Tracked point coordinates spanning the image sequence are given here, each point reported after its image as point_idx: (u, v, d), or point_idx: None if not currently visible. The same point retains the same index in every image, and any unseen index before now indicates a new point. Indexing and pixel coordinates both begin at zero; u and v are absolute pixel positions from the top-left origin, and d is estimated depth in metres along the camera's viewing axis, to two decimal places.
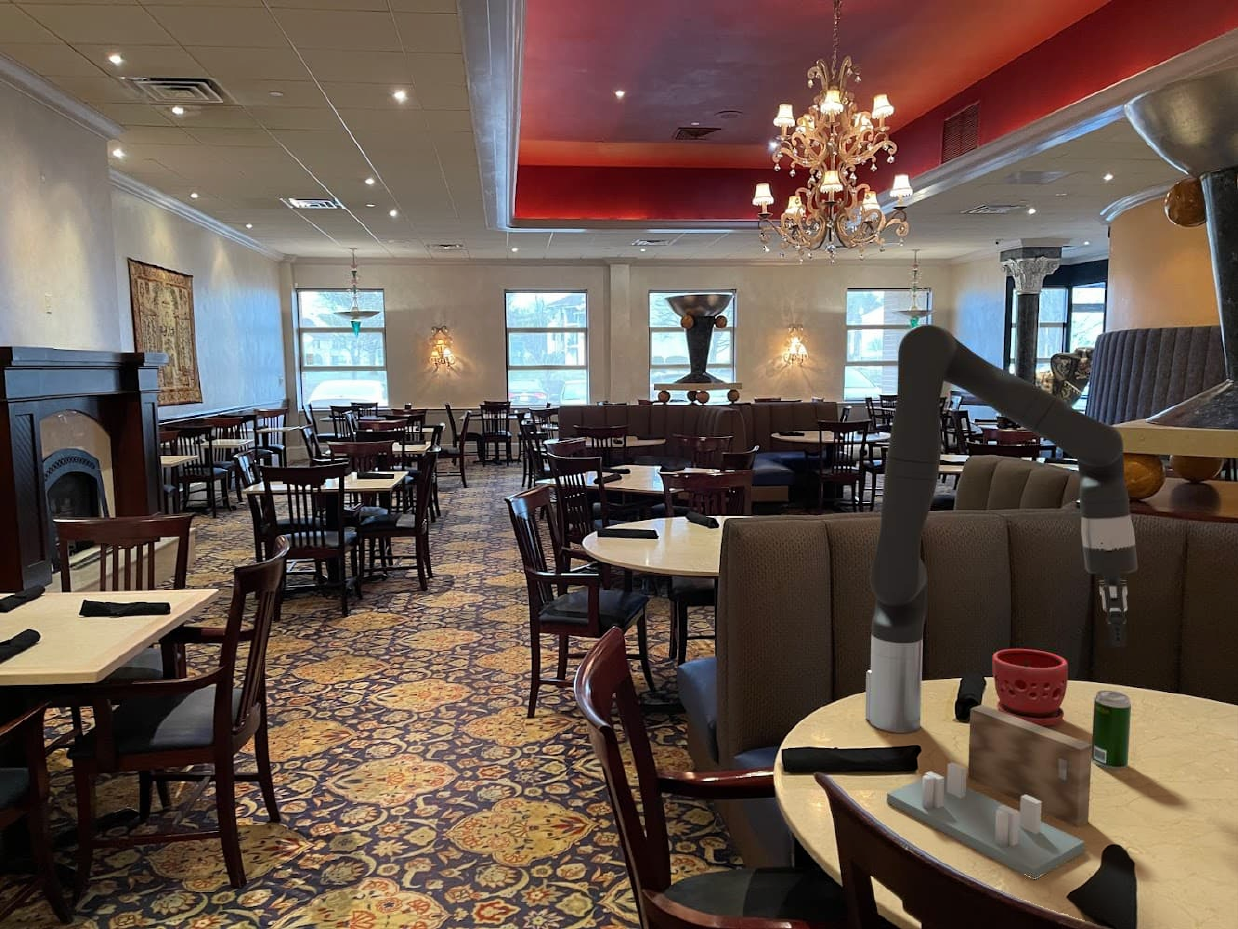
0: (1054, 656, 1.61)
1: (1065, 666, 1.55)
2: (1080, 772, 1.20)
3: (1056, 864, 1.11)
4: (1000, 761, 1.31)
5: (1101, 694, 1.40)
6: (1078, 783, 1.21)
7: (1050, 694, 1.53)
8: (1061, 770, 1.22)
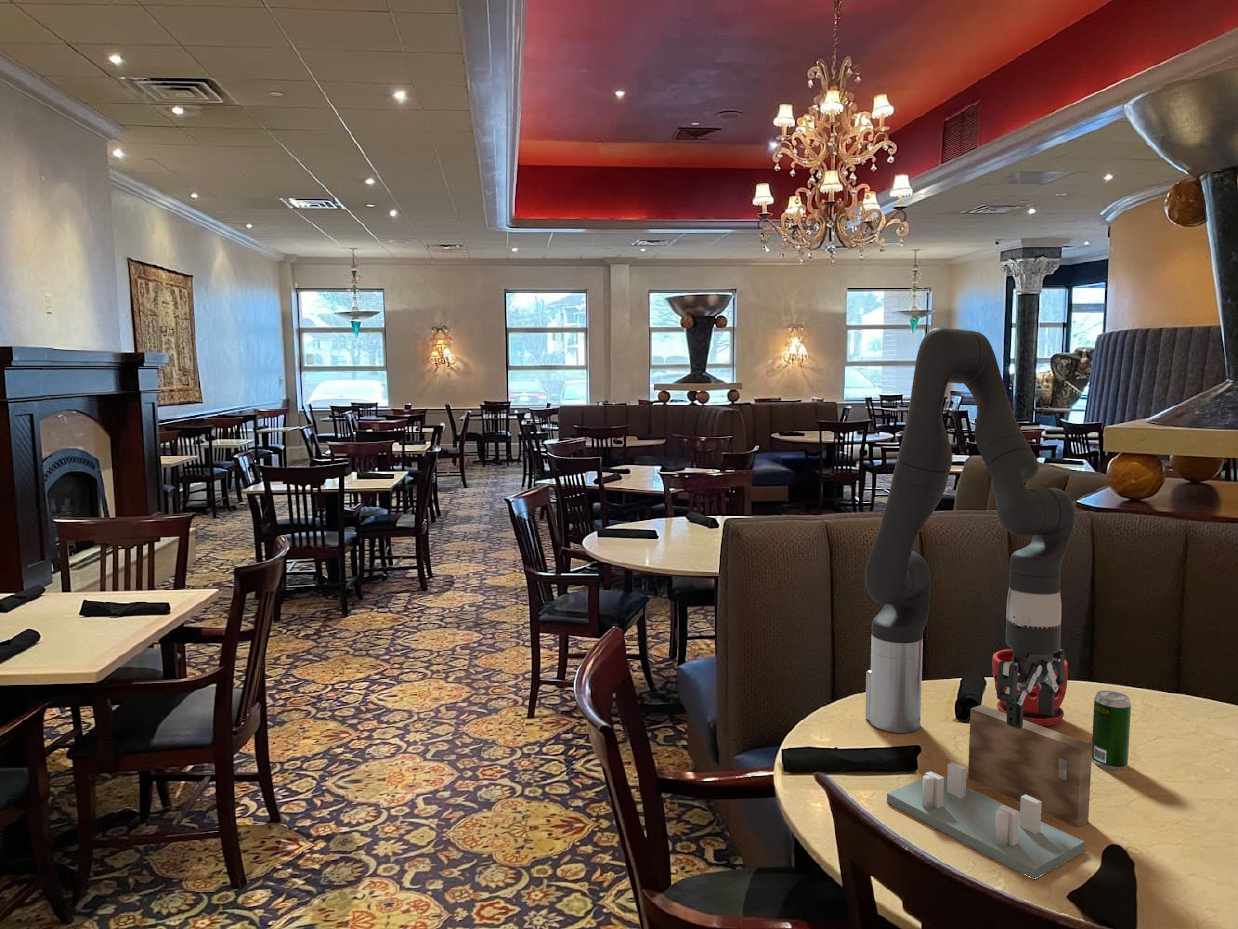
0: None
1: (1065, 666, 1.55)
2: (1080, 772, 1.20)
3: (1056, 864, 1.11)
4: (1000, 761, 1.31)
5: (1101, 694, 1.40)
6: (1078, 783, 1.21)
7: None
8: (1061, 770, 1.22)
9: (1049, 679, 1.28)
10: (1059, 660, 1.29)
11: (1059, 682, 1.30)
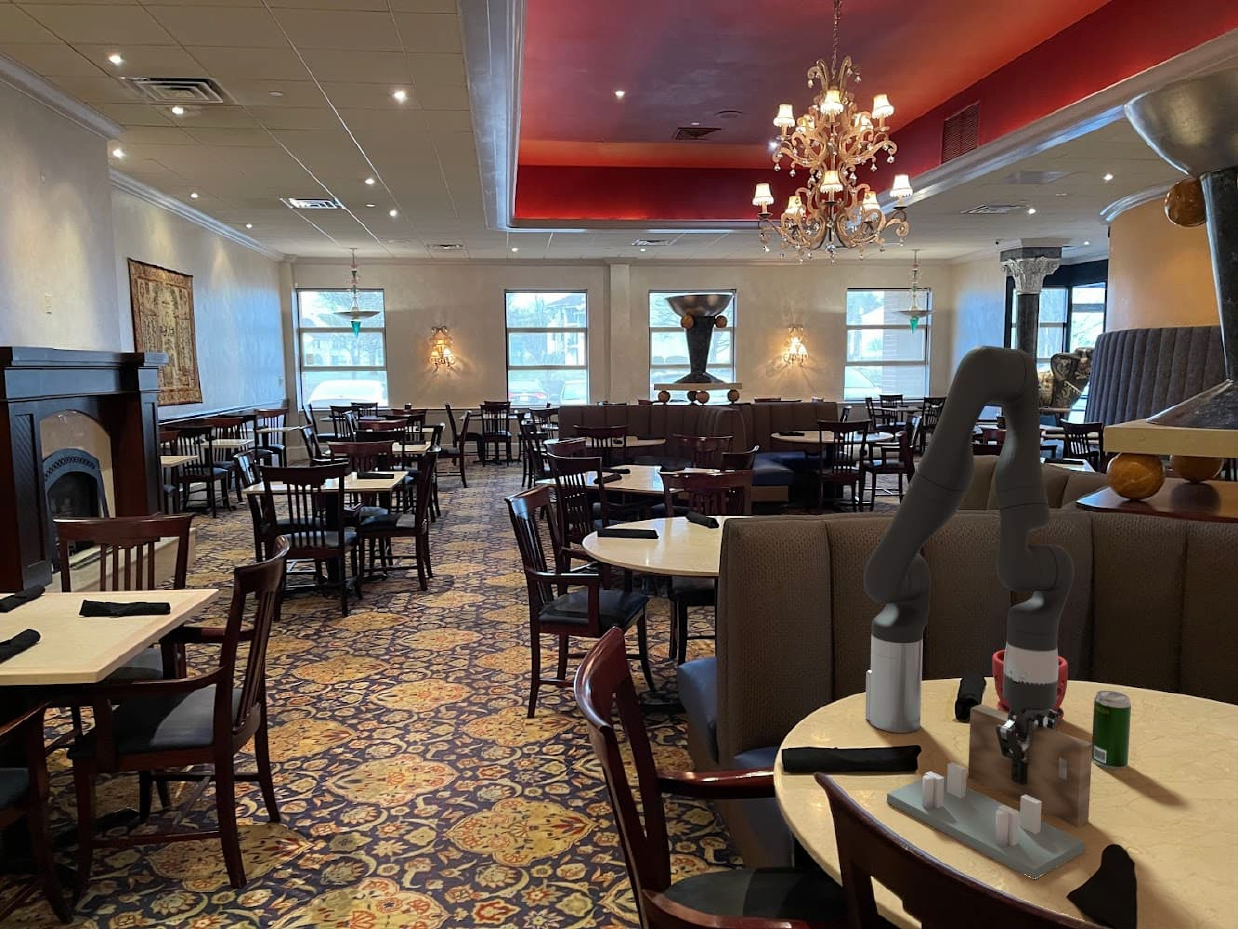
0: None
1: (1065, 666, 1.55)
2: (1080, 772, 1.20)
3: (1056, 864, 1.11)
4: (1001, 760, 1.31)
5: (1101, 694, 1.40)
6: (1078, 782, 1.21)
7: None
8: (1062, 770, 1.23)
9: None
10: (1053, 720, 1.30)
11: None
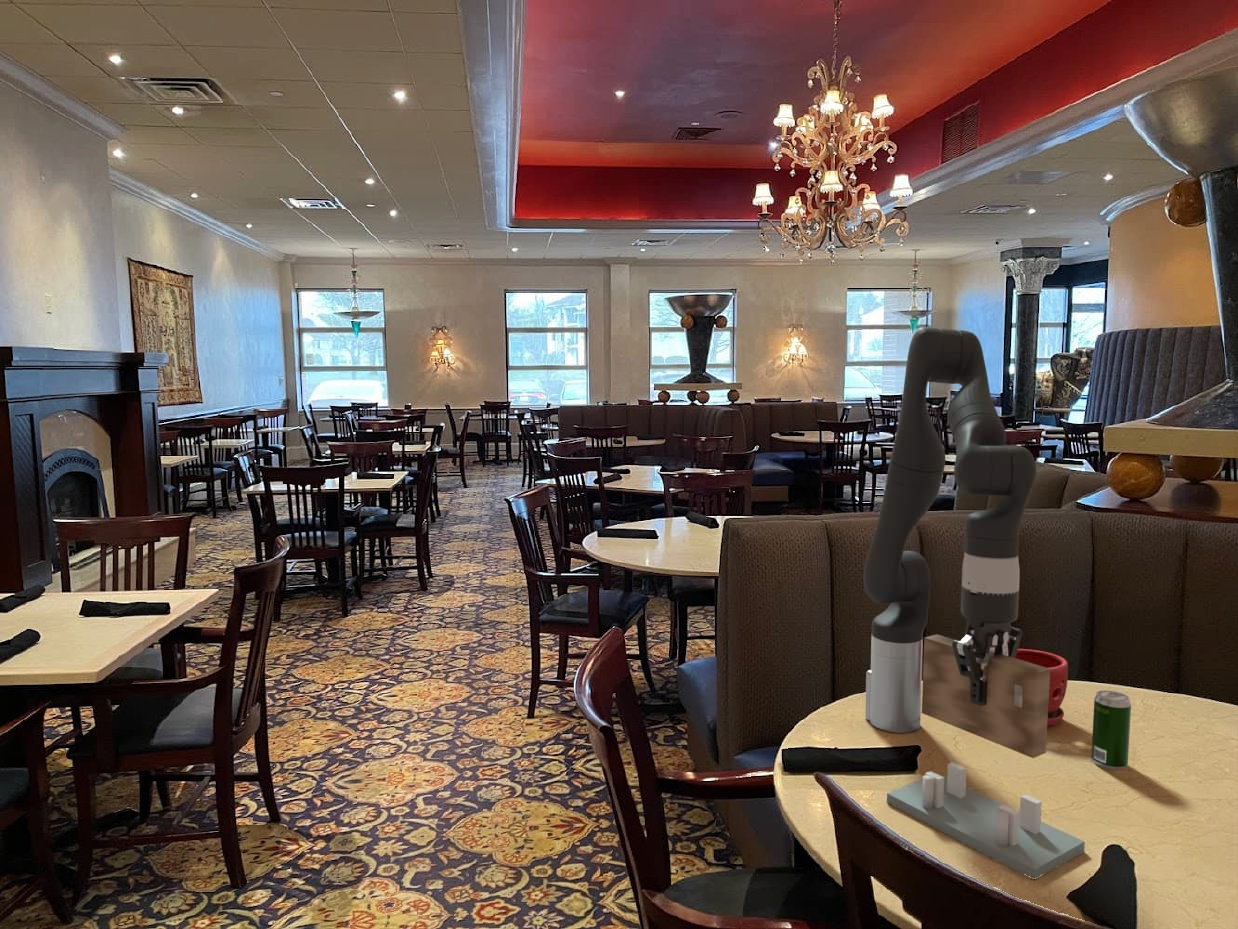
0: (1054, 656, 1.61)
1: (1065, 666, 1.55)
2: (1037, 698, 1.12)
3: (1056, 864, 1.11)
4: (955, 691, 1.22)
5: (1101, 694, 1.40)
6: (1034, 709, 1.12)
7: (1050, 694, 1.53)
8: (1017, 697, 1.14)
9: (1001, 654, 1.19)
10: (1015, 638, 1.21)
11: None
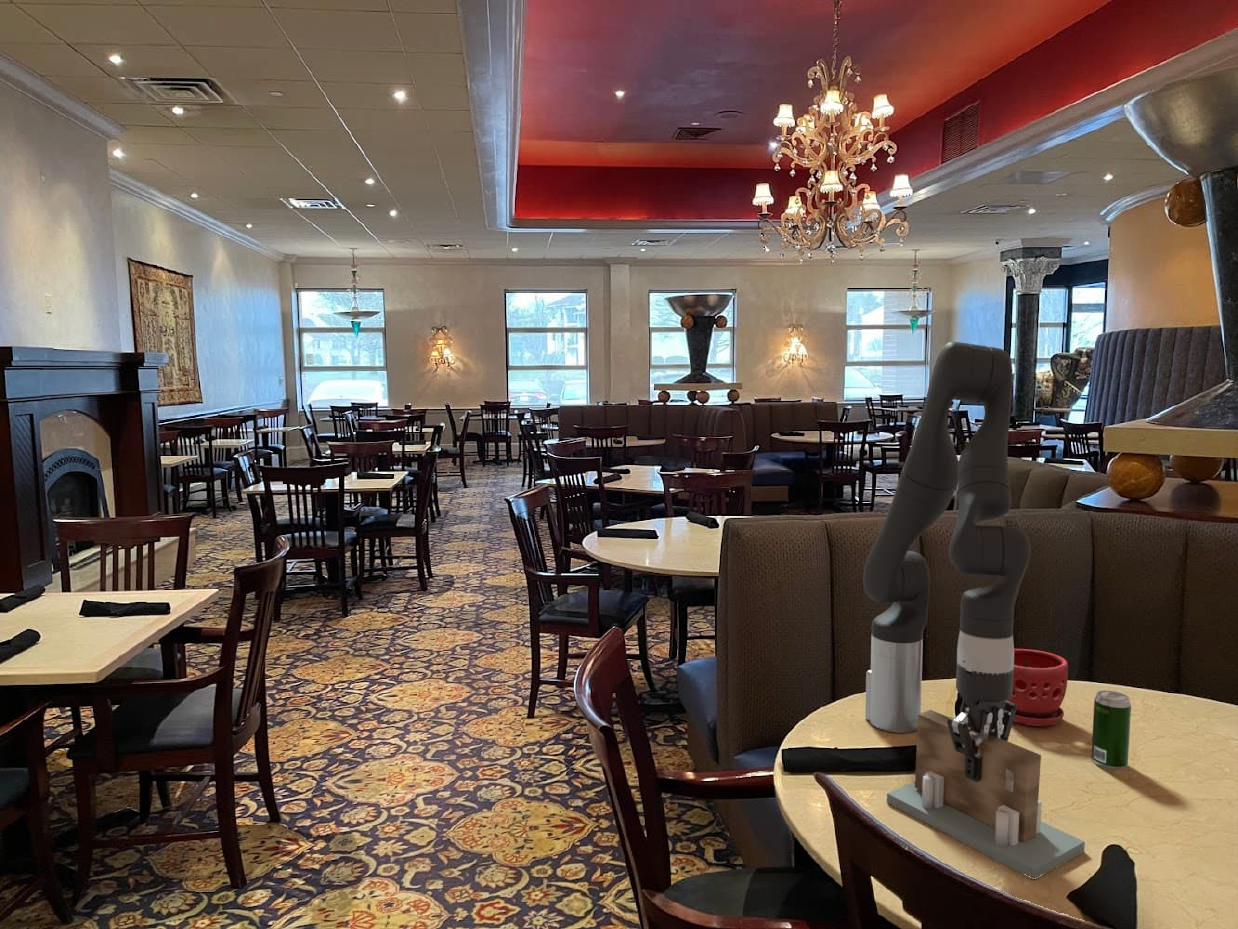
0: (1054, 656, 1.61)
1: (1065, 666, 1.55)
2: (1028, 785, 1.14)
3: (1056, 864, 1.11)
4: (947, 769, 1.24)
5: (1101, 694, 1.40)
6: (1025, 795, 1.14)
7: (1050, 694, 1.53)
8: (1008, 782, 1.16)
9: (995, 730, 1.20)
10: (1009, 713, 1.22)
11: None
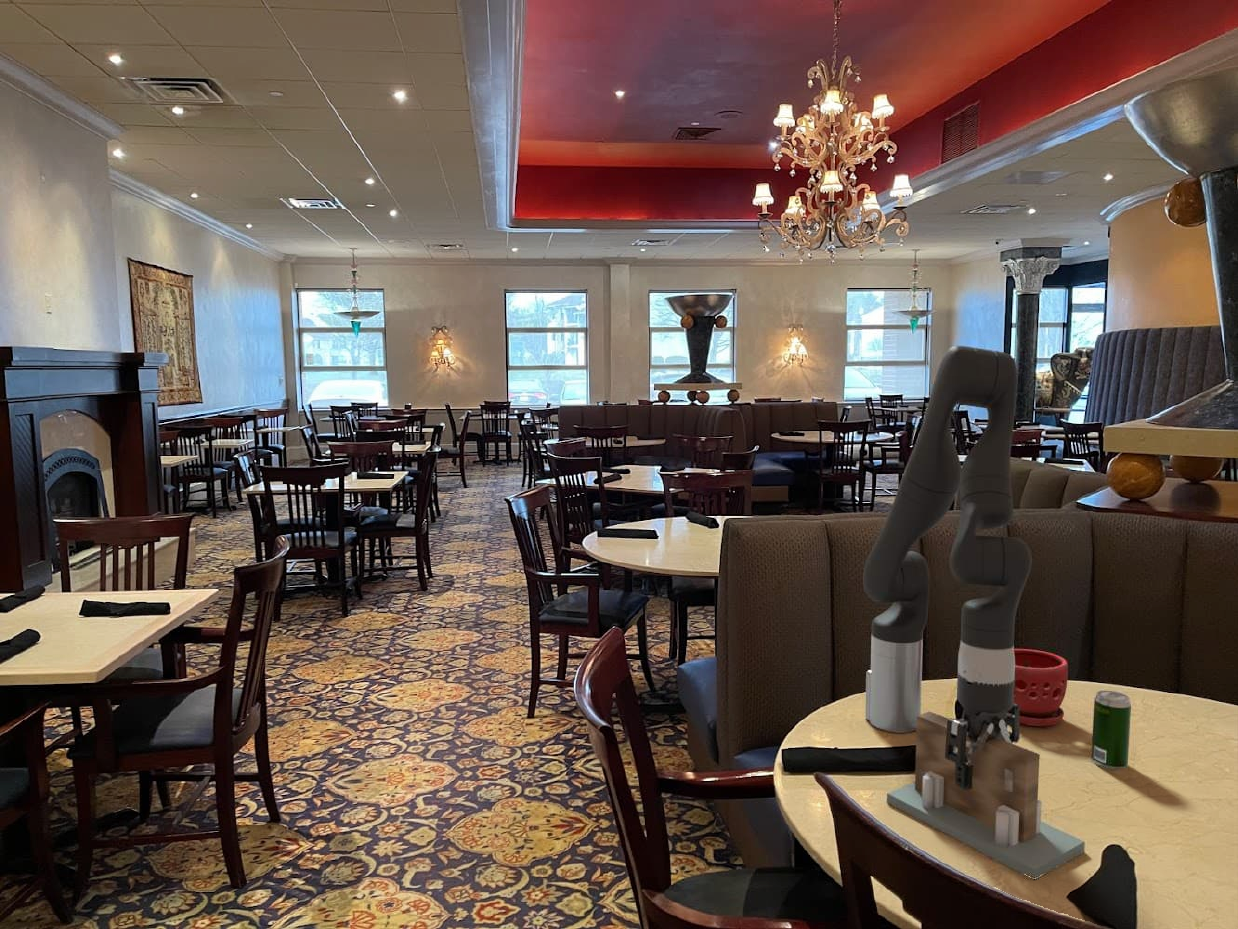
0: (1054, 656, 1.61)
1: (1065, 666, 1.55)
2: (1027, 784, 1.14)
3: (1056, 864, 1.11)
4: (947, 771, 1.24)
5: (1101, 694, 1.40)
6: (1024, 795, 1.14)
7: (1050, 694, 1.53)
8: (1007, 782, 1.16)
9: (1002, 737, 1.21)
10: (1013, 716, 1.22)
11: (1013, 739, 1.23)
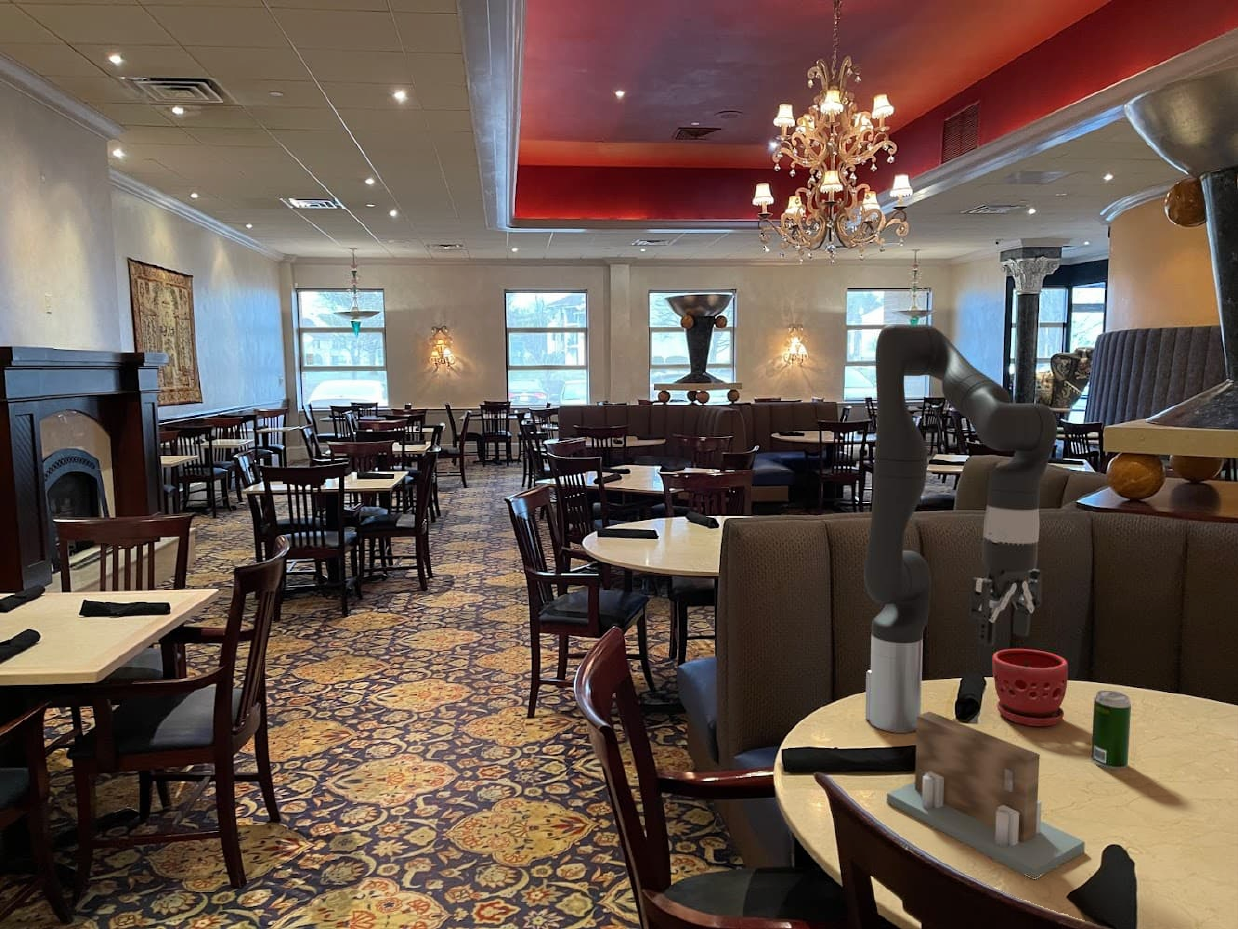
0: (1054, 656, 1.61)
1: (1065, 666, 1.55)
2: (1027, 784, 1.14)
3: (1056, 864, 1.11)
4: (947, 771, 1.24)
5: (1101, 694, 1.40)
6: (1024, 795, 1.14)
7: (1050, 694, 1.53)
8: (1007, 782, 1.16)
9: (1024, 599, 1.26)
10: (1036, 581, 1.27)
11: (1035, 603, 1.28)
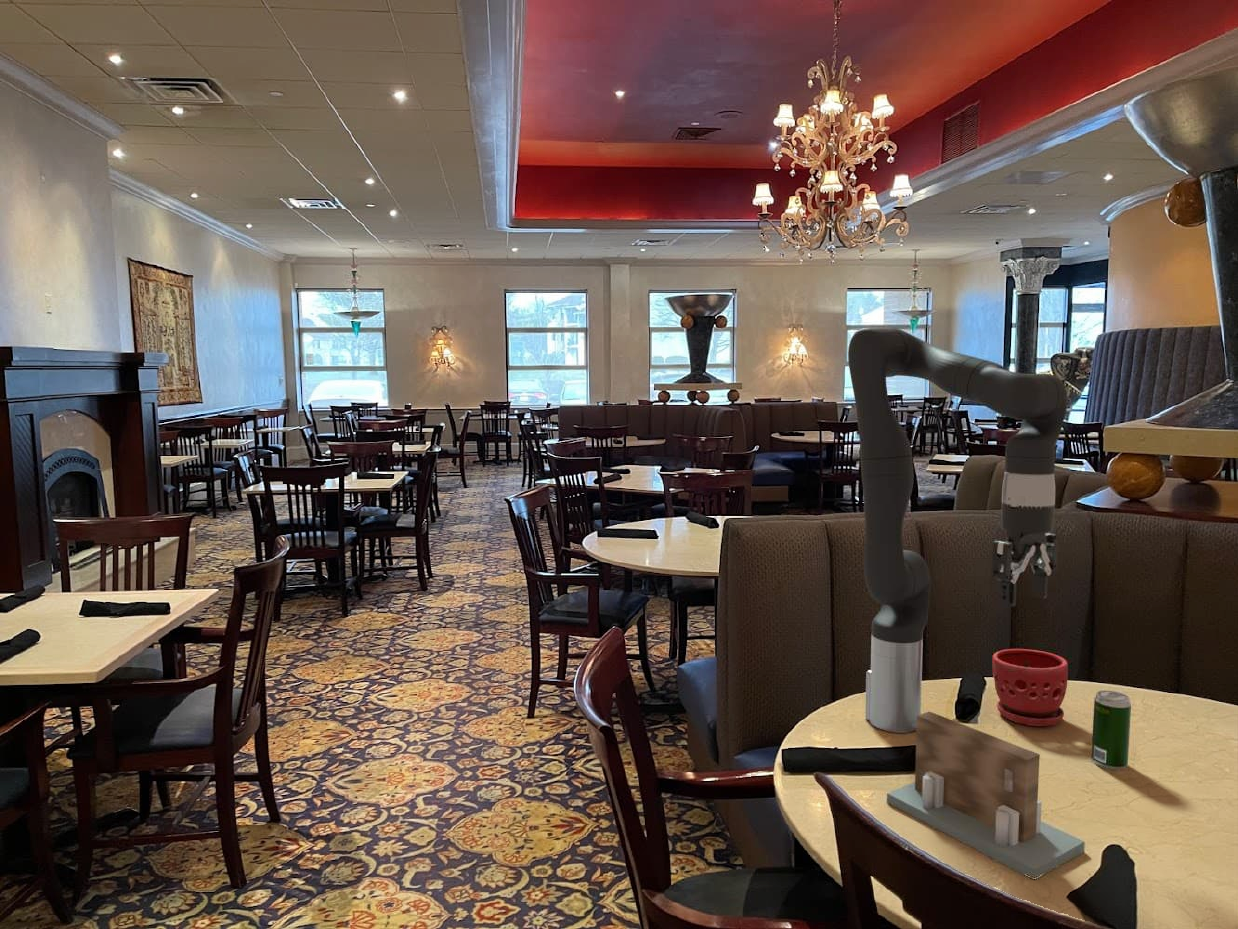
0: (1054, 656, 1.61)
1: (1065, 666, 1.55)
2: (1027, 784, 1.14)
3: (1056, 864, 1.11)
4: (947, 771, 1.24)
5: (1101, 694, 1.40)
6: (1024, 795, 1.14)
7: (1050, 694, 1.53)
8: (1007, 782, 1.16)
9: (1042, 561, 1.31)
10: (1052, 544, 1.33)
11: (1052, 566, 1.34)
